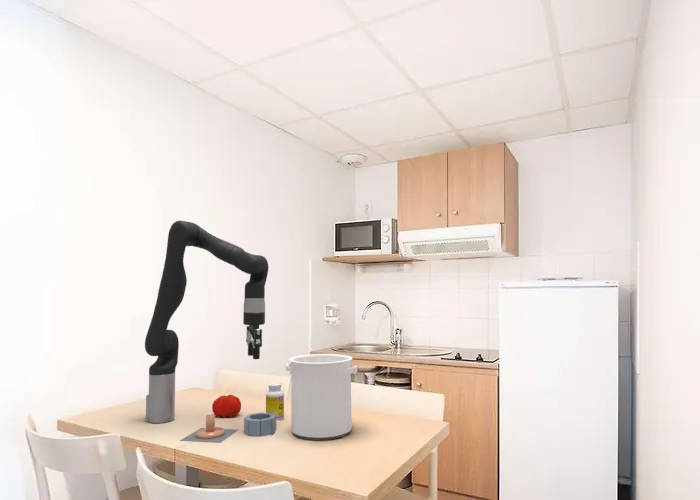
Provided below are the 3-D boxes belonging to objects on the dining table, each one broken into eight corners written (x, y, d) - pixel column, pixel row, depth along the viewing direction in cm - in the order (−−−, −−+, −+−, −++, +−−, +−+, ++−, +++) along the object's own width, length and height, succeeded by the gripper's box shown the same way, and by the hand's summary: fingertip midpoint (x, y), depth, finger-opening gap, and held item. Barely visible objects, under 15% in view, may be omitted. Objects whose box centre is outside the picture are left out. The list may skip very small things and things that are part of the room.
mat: (179, 442, 153) (179, 440, 153) (201, 429, 166) (201, 427, 166) (220, 444, 150) (220, 442, 150) (239, 431, 164) (239, 429, 164)
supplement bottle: (280, 422, 174) (280, 386, 175) (263, 421, 175) (263, 385, 176) (286, 417, 181) (286, 382, 182) (269, 416, 182) (269, 382, 183)
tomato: (230, 421, 177) (230, 400, 177) (206, 418, 181) (206, 398, 181) (247, 413, 187) (247, 394, 187) (223, 411, 191) (223, 392, 191)
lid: (190, 438, 155) (190, 418, 155) (204, 430, 163) (204, 411, 164) (216, 439, 153) (216, 420, 153) (229, 431, 162) (229, 412, 162)
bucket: (367, 425, 168) (366, 354, 170) (346, 445, 148) (345, 364, 150) (300, 420, 177) (300, 352, 178) (272, 437, 156) (272, 361, 158)
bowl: (240, 437, 157) (240, 420, 158) (252, 428, 167) (252, 412, 167) (269, 438, 155) (268, 421, 156) (279, 429, 165) (279, 413, 166)
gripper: (239, 310, 175) (239, 355, 174) (247, 312, 162) (247, 361, 161) (260, 309, 178) (259, 354, 177) (269, 311, 165) (268, 359, 164)
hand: (253, 357), depth 169 cm, fingers open, 8 cm apart
